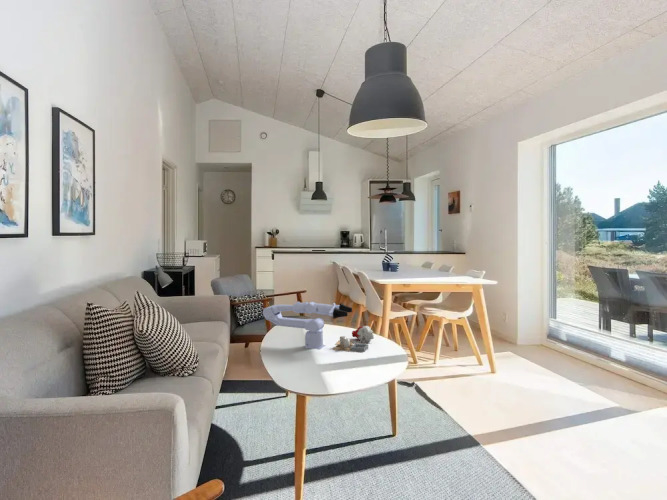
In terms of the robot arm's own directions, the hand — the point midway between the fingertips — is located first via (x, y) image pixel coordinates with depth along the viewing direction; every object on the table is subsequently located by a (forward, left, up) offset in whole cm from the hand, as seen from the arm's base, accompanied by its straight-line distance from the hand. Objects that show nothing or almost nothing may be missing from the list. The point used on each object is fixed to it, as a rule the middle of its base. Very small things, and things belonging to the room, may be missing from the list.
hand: (349, 312), depth 230 cm
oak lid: (-8, +11, -21) cm, 25 cm away
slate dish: (+5, +2, -21) cm, 21 cm away
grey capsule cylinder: (-5, +4, -20) cm, 21 cm away
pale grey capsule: (-2, 0, -20) cm, 20 cm away
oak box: (-4, +2, -21) cm, 21 cm away
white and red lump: (0, +21, -21) cm, 30 cm away
